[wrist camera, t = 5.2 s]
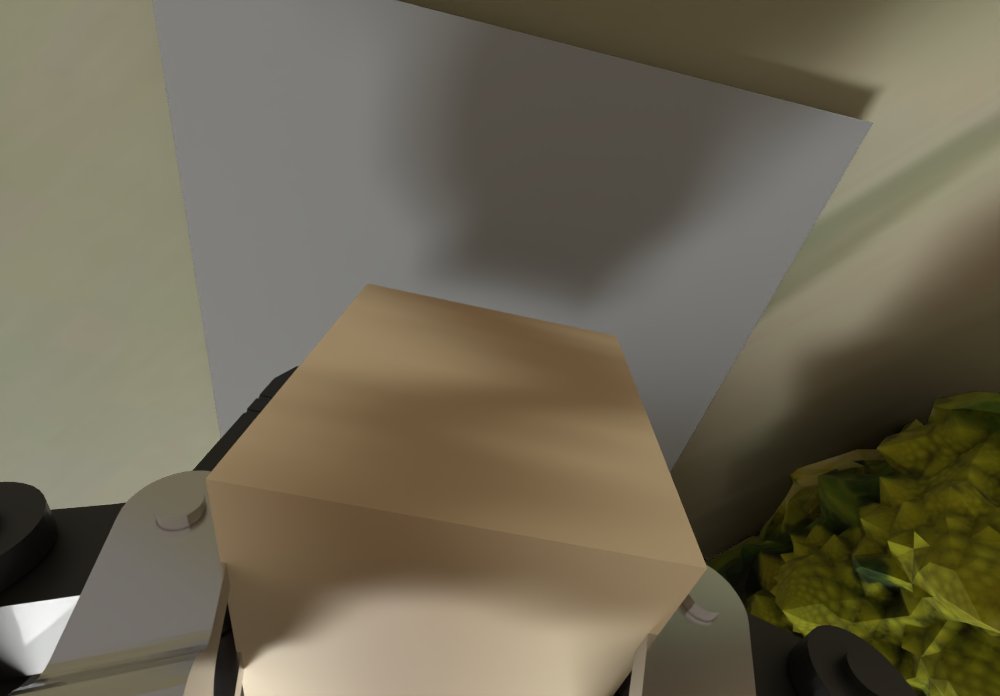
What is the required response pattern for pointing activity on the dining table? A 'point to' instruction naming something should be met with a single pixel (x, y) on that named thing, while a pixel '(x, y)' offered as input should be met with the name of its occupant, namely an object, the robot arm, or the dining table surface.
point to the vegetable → (893, 549)
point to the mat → (479, 187)
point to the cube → (450, 511)
